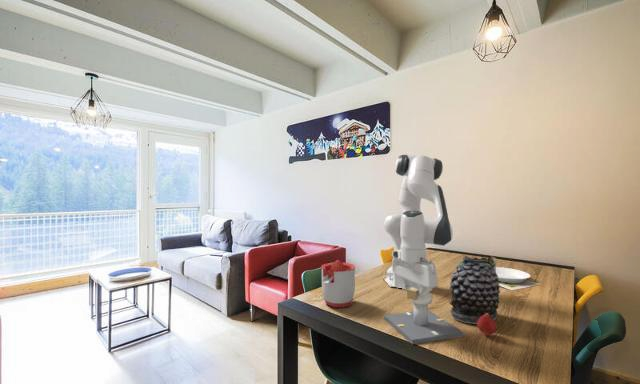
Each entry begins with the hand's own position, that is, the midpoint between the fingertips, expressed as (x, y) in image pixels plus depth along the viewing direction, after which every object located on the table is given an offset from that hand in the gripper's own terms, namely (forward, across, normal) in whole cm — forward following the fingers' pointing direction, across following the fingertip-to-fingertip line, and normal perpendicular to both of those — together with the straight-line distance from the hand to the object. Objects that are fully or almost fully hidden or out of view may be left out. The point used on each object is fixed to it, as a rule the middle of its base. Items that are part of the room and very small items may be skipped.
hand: (413, 293), depth 105 cm
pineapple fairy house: (+14, -2, -28) cm, 32 cm away
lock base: (+13, +1, -4) cm, 14 cm away
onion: (+14, -14, -20) cm, 28 cm away
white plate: (+14, +28, -90) cm, 95 cm away
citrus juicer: (+14, +34, +15) cm, 39 cm away
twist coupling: (+3, +1, -4) cm, 5 cm away
